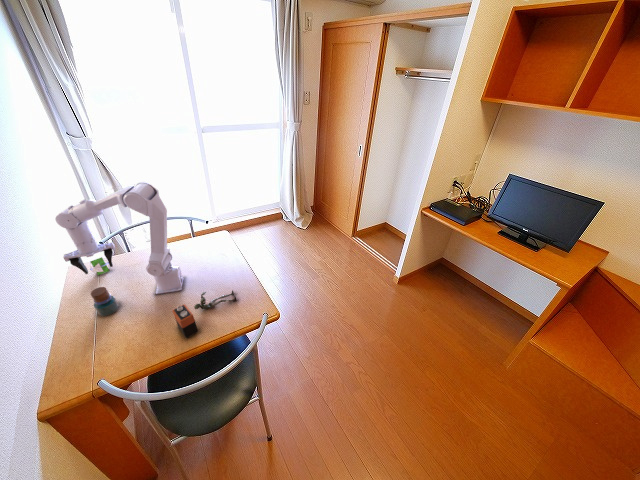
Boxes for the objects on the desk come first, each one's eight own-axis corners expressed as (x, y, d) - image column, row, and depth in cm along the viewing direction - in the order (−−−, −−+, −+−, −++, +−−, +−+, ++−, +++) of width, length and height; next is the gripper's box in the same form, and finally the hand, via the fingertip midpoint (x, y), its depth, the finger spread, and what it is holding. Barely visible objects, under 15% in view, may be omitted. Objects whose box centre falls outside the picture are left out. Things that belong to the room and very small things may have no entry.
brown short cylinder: (111, 292, 98) (108, 285, 96) (107, 301, 94) (103, 294, 93) (97, 294, 97) (93, 287, 95) (92, 303, 93) (88, 297, 91)
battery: (186, 339, 90) (179, 320, 85) (178, 327, 94) (170, 308, 88) (198, 331, 93) (192, 312, 87) (190, 320, 97) (183, 301, 91)
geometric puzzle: (87, 266, 115) (84, 259, 109) (106, 259, 119) (104, 252, 113) (96, 279, 114) (93, 273, 108) (114, 272, 118) (112, 266, 112)
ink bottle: (121, 301, 102) (115, 290, 99) (115, 314, 97) (109, 302, 94) (101, 304, 101) (94, 293, 97) (95, 317, 95) (87, 305, 92)
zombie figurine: (234, 289, 101) (193, 304, 95) (237, 301, 105) (197, 316, 99) (230, 280, 105) (190, 294, 98) (232, 292, 109) (194, 306, 102)
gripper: (56, 251, 88) (75, 282, 95) (109, 238, 95) (123, 267, 103) (57, 241, 92) (75, 271, 100) (107, 230, 100) (121, 258, 107)
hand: (99, 268), depth 102 cm, fingers open, 7 cm apart
